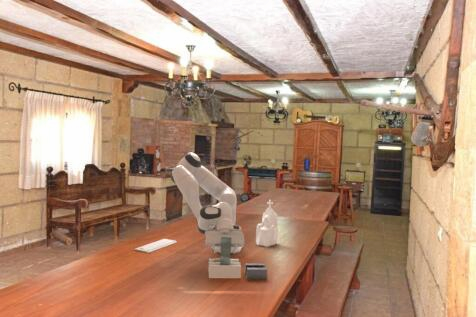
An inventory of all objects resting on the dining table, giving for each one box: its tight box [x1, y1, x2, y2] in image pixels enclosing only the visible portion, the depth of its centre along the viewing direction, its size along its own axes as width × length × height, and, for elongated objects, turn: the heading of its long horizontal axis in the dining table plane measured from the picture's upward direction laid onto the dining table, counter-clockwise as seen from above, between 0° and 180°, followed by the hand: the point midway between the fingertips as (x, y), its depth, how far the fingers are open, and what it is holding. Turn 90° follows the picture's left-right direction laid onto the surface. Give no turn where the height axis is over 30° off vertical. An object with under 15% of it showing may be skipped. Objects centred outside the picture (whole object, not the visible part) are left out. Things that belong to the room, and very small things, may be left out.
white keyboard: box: [134, 238, 177, 254], centre depth 262 cm, size 31×3×12 cm
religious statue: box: [255, 199, 279, 248], centre depth 277 cm, size 17×14×30 cm
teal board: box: [219, 236, 232, 265], centre depth 208 cm, size 2×5×20 cm, turn 96°
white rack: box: [207, 258, 242, 279], centre depth 212 cm, size 13×16×7 cm
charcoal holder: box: [244, 262, 268, 281], centre depth 210 cm, size 10×10×6 cm
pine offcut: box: [213, 257, 220, 262], centre depth 214 cm, size 3×5×7 cm, turn 96°
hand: (225, 253), depth 208 cm, fingers open, 8 cm apart
